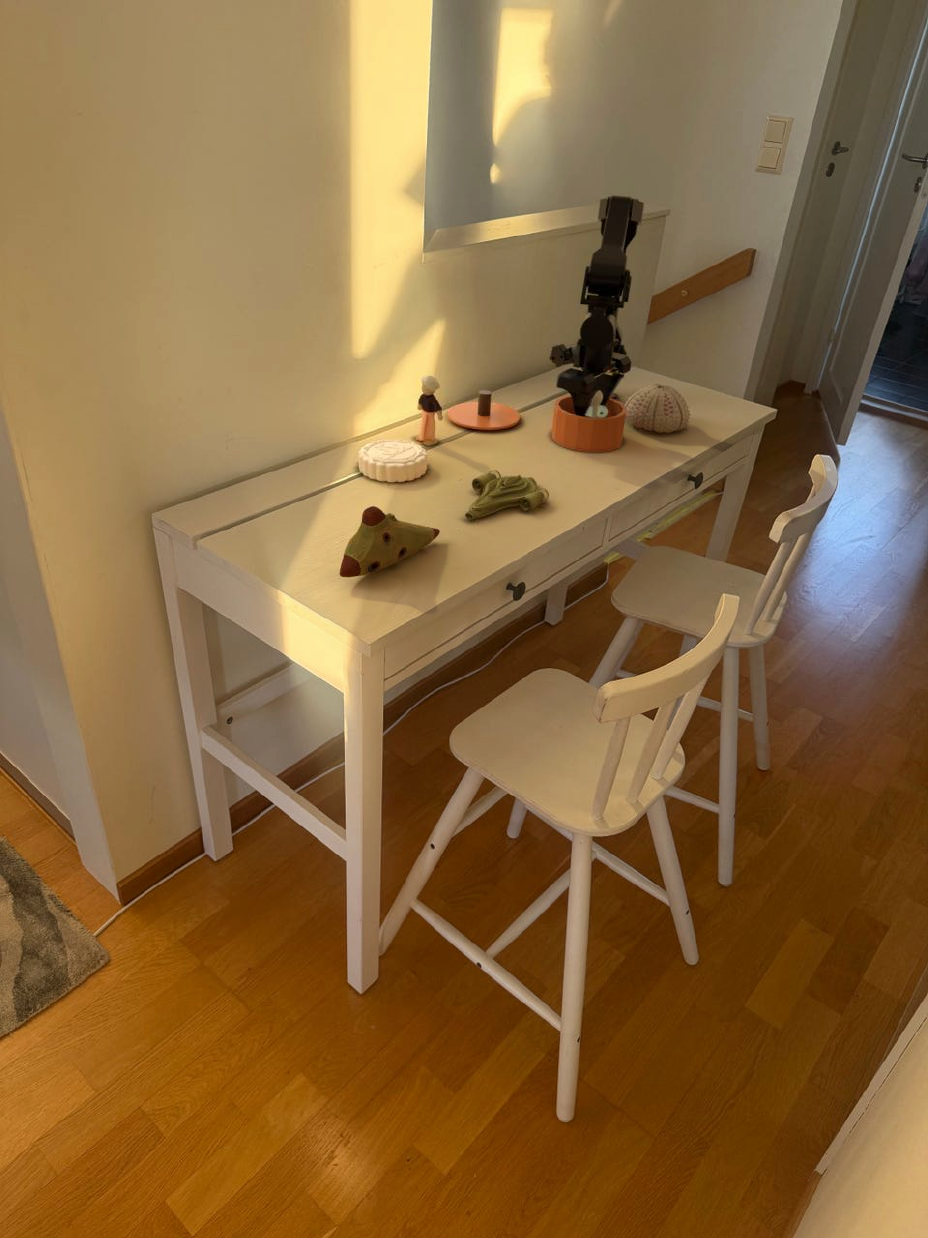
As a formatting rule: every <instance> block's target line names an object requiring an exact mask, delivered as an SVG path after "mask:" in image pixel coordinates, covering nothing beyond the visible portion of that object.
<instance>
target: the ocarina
mask: <svg viewBox="0 0 928 1238" xmlns="http://www.w3.org/2000/svg"><path fill="white" fill-rule="evenodd" d="M440 533H441V530H440V529H438V528H434V527H430V526H425V525H420V524H416V523H411V522H407V521H403V520H398V519H397V518H396V515H395V514H393V513H392V512H388V513H385V512H383V510H382V509H380V508H379V507H378V506H375V505H371V506H369V507H367V508H365V509H364V510H363V512H362V515H361V522H360V525H359V527H358V529H357V531H356V532H355V533H354V534H353V536H352V537H351V538H350V539H349V540H348V543H347V545H346V547H345V550H344V553H343V558H342V561H341V563H340V569H339V576H340V577H342V578H355V577H362V576H367V575H371V574H375V573H377V572H379V571H381V570H383V569H386V568H388V567H390V566H392V565H394V564H397V563H399V562H401V561H402V560H404V559H406V558H408V557H410V556H412V555H413V554H415V553H417V552H419V551H420V550H422V549H424V548H426V547H427V546H429V544H430V545H431V543H433V541H435V539H436V538H437V537H438V536H439V534H440Z"/></svg>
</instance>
